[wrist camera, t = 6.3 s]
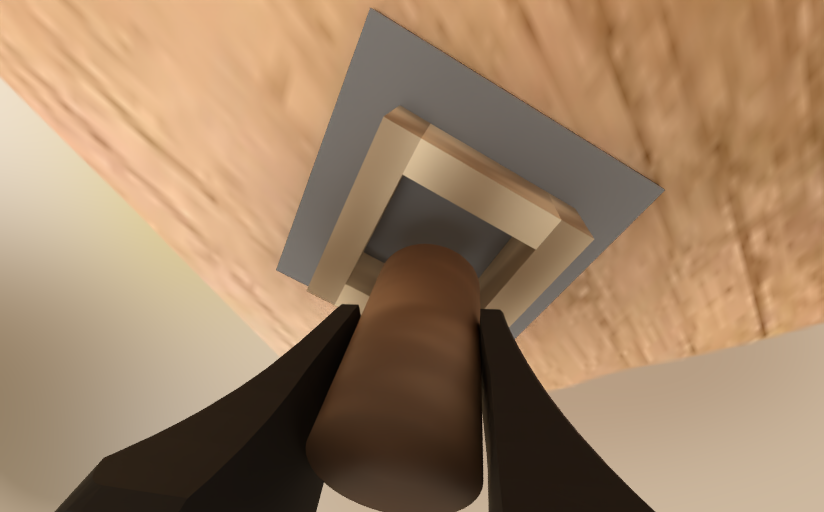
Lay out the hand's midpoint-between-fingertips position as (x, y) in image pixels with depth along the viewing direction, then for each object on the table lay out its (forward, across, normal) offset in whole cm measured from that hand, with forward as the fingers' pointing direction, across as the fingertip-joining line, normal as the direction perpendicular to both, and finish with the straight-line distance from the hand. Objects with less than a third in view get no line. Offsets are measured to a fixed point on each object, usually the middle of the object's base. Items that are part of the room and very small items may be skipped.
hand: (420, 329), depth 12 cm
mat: (+7, 0, 0) cm, 7 cm away
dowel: (+2, 0, 0) cm, 2 cm away
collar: (+7, 0, 0) cm, 7 cm away
